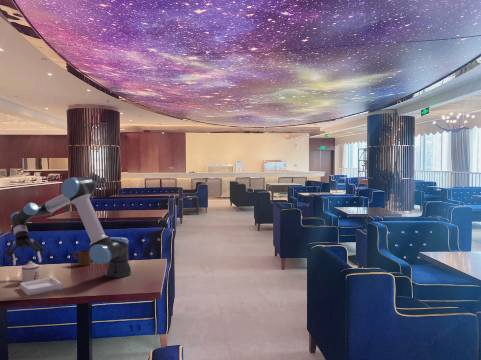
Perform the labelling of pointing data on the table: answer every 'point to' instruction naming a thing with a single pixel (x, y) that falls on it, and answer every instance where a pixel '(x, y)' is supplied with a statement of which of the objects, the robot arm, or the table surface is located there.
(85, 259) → the mug
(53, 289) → the tray
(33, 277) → the teacup with lid
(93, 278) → the table surface
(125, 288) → the table surface
